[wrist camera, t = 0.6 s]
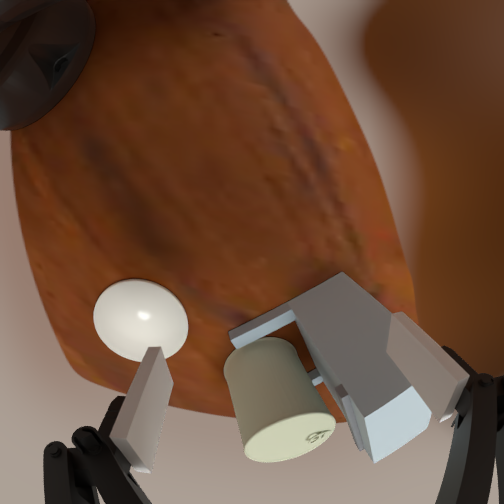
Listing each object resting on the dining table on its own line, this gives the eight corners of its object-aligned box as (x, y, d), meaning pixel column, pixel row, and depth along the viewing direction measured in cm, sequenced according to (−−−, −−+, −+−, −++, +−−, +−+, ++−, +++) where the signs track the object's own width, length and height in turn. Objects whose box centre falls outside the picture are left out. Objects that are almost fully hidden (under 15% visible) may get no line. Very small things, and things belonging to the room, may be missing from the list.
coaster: (78, 294, 23) (77, 297, 23) (166, 265, 25) (166, 268, 24) (122, 366, 27) (121, 369, 27) (201, 345, 29) (201, 348, 28)
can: (289, 385, 34) (323, 454, 23) (222, 393, 32) (241, 472, 21) (303, 332, 31) (351, 406, 20) (224, 338, 29) (249, 428, 18)
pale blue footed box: (273, 396, 34) (314, 493, 20) (228, 331, 29) (268, 464, 14) (361, 348, 35) (427, 427, 21) (342, 271, 29) (443, 359, 15)
